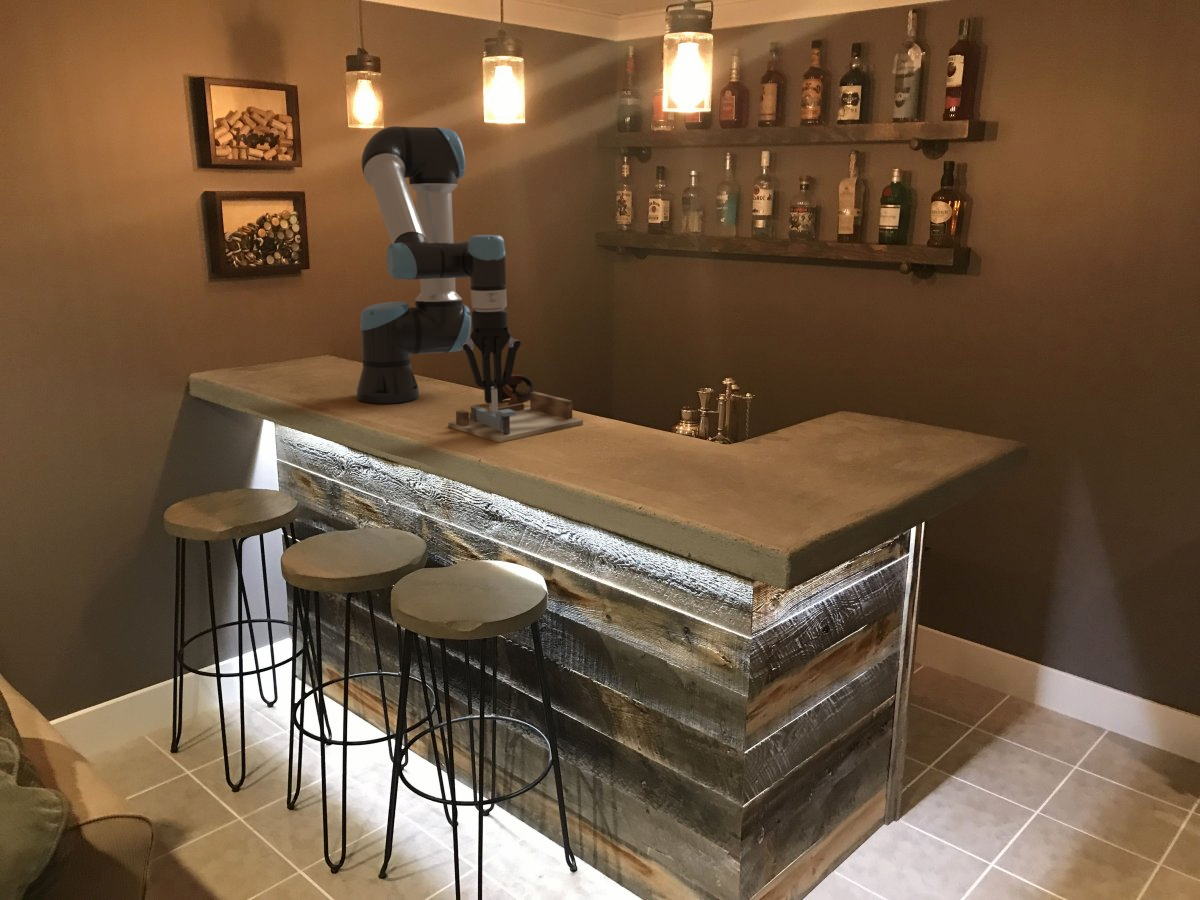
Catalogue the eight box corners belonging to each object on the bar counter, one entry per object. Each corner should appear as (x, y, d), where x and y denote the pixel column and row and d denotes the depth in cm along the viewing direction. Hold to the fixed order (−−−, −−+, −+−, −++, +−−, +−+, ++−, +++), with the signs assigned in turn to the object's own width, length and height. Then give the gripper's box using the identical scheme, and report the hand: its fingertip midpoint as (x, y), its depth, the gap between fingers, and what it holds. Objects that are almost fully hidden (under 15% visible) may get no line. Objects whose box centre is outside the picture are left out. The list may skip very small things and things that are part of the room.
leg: (515, 432, 205) (515, 411, 203) (503, 434, 203) (503, 413, 202) (480, 417, 217) (480, 397, 216) (469, 418, 216) (468, 398, 215)
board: (448, 426, 215) (447, 404, 213) (531, 410, 231) (531, 389, 229) (498, 442, 202) (498, 419, 201) (582, 424, 218) (583, 402, 217)
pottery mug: (532, 401, 243) (539, 376, 238) (527, 425, 236) (534, 400, 231) (485, 388, 242) (491, 363, 236) (479, 412, 235) (485, 387, 229)
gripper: (463, 313, 201) (468, 423, 207) (523, 309, 205) (526, 418, 211) (456, 308, 208) (461, 415, 214) (514, 305, 212) (518, 410, 218)
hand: (494, 416), depth 213 cm, fingers closed
